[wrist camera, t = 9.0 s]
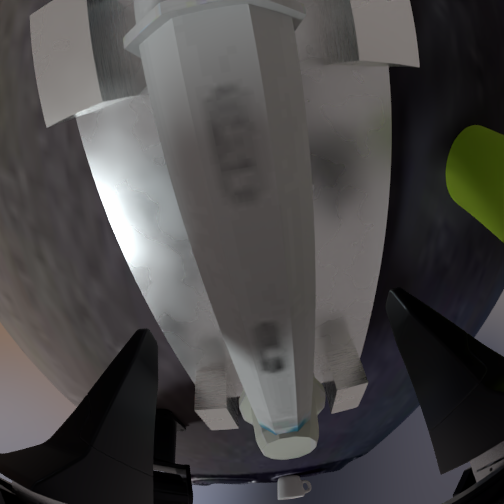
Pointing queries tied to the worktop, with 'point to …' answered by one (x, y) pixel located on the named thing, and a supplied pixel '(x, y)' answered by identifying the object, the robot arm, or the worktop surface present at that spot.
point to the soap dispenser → (478, 176)
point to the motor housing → (164, 200)
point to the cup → (291, 487)
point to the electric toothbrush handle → (243, 192)
